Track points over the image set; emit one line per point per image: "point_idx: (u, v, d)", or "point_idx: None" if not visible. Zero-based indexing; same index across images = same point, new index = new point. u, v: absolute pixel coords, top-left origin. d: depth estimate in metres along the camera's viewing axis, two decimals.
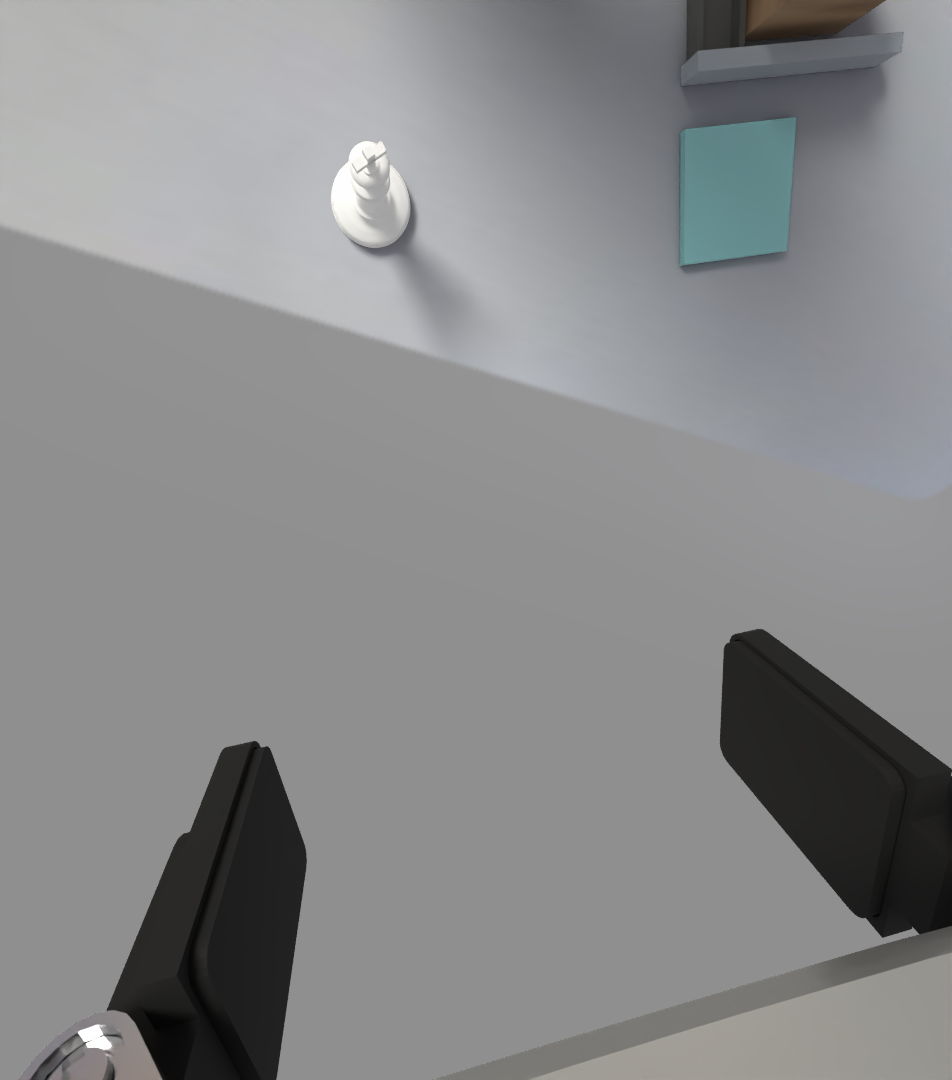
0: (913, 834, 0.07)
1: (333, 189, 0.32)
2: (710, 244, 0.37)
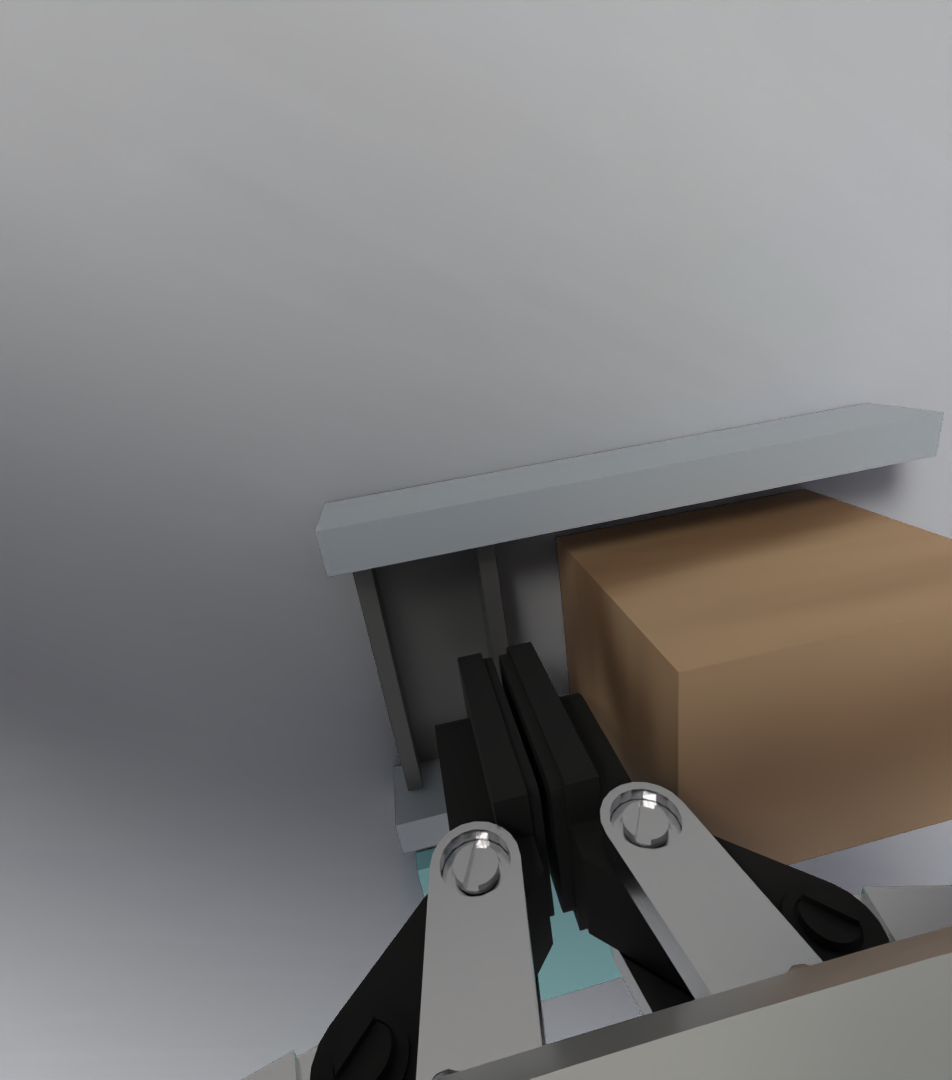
0: (573, 835, 0.08)
1: None
2: None
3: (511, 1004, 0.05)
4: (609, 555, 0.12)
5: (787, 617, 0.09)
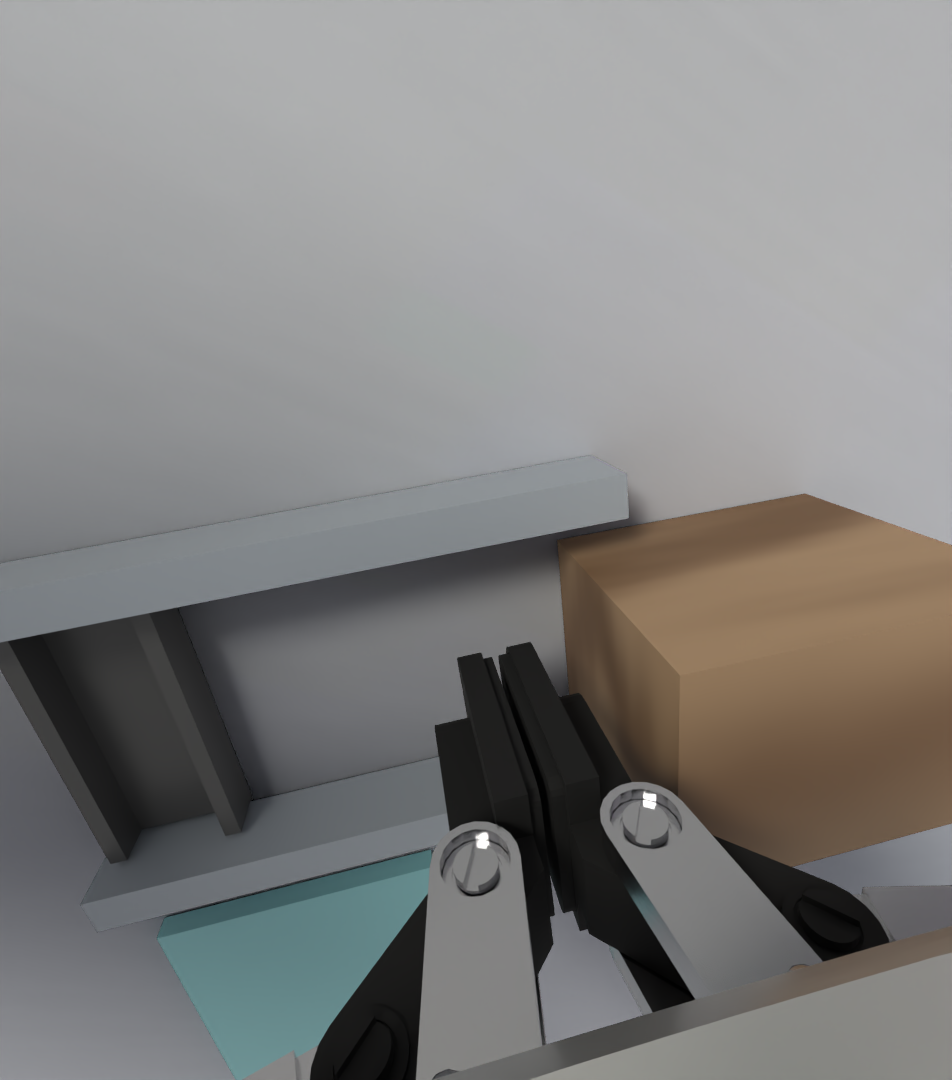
0: (572, 835, 0.08)
1: None
2: None
3: (511, 1004, 0.05)
4: (610, 558, 0.12)
5: (787, 621, 0.09)
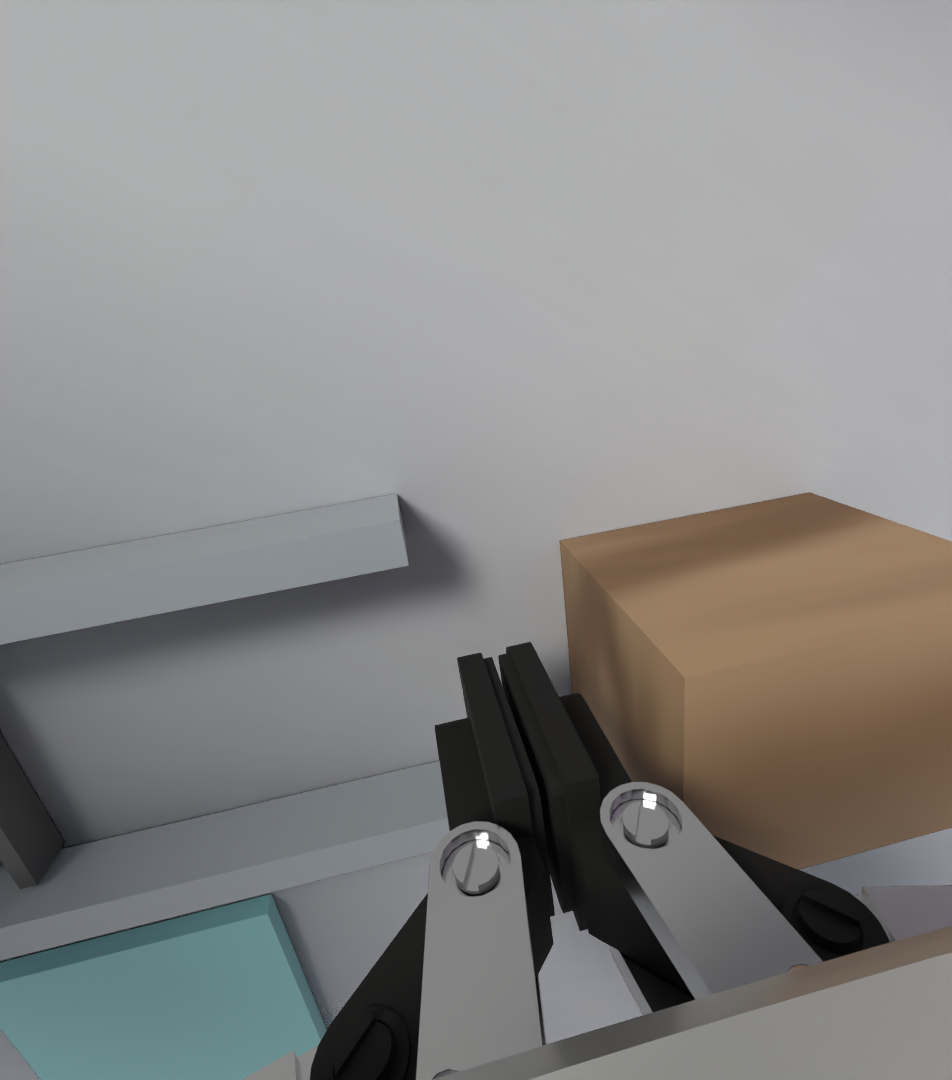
0: (573, 835, 0.08)
1: None
2: None
3: (511, 1004, 0.05)
4: (613, 558, 0.12)
5: (793, 622, 0.09)
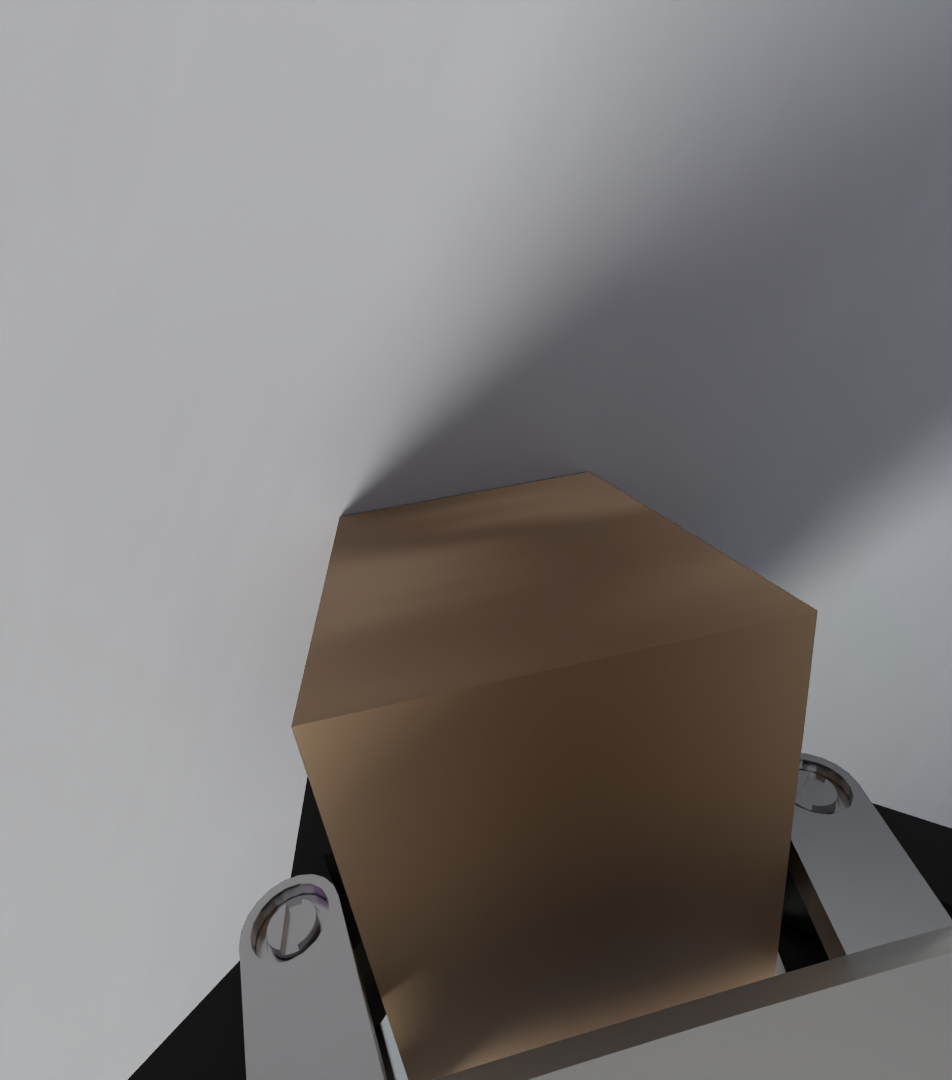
0: None
1: None
2: None
3: (347, 1047, 0.05)
4: None
5: None
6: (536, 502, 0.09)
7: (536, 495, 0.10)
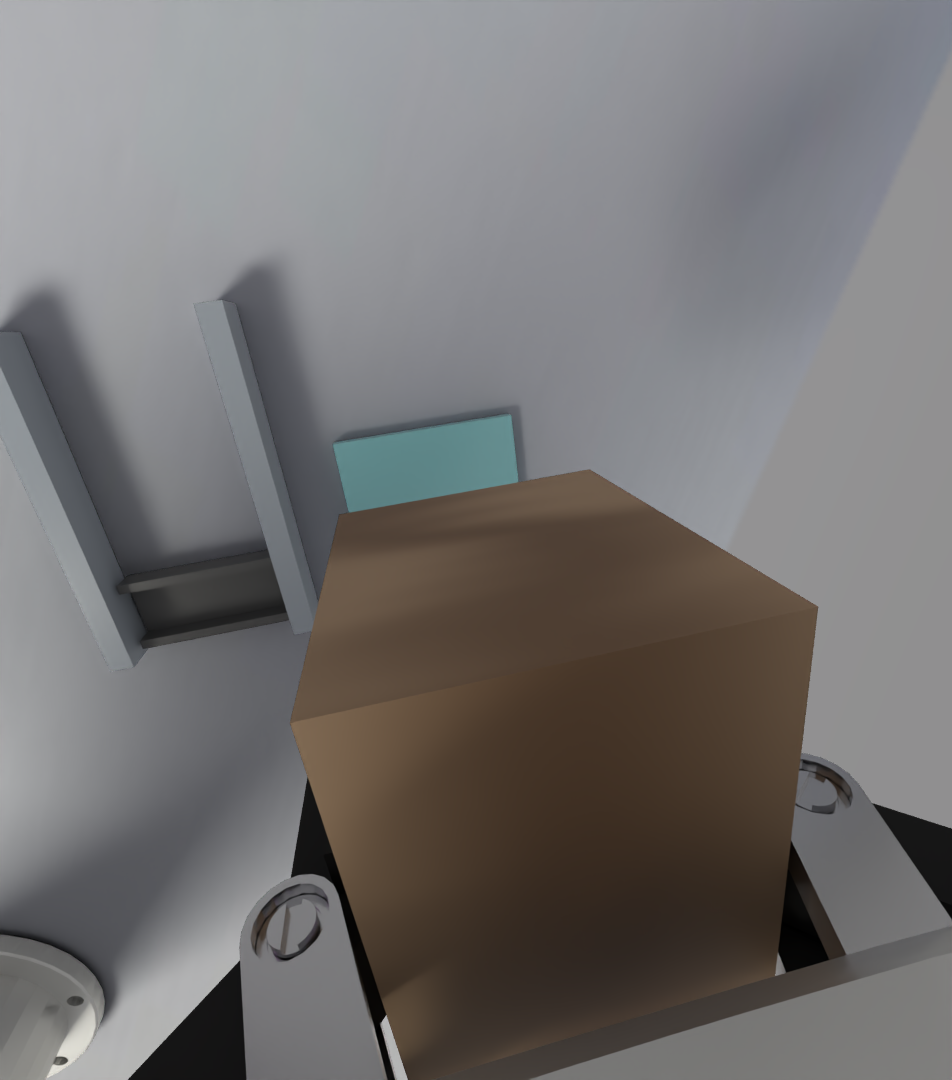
0: None
1: None
2: None
3: (347, 1047, 0.05)
4: None
5: None
6: (535, 501, 0.09)
7: (536, 493, 0.10)
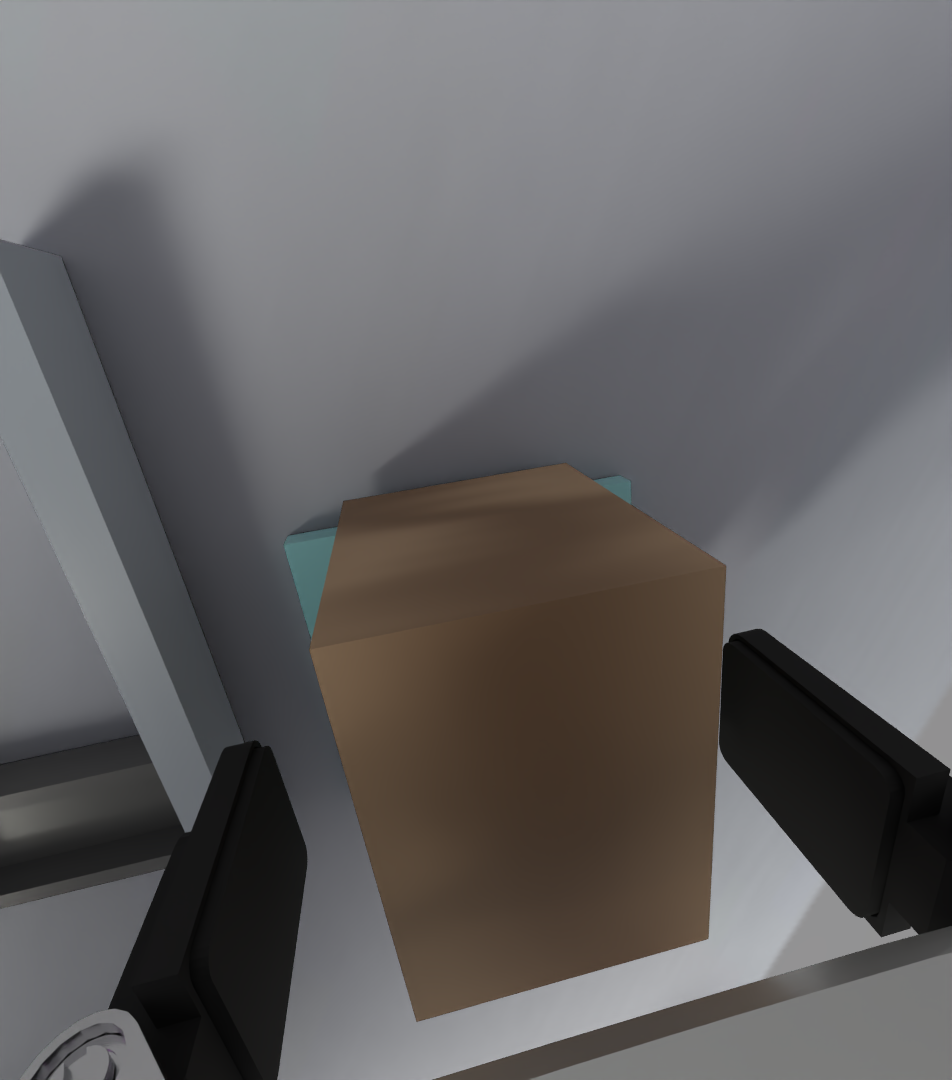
0: (912, 833, 0.07)
1: None
2: None
3: None
4: None
5: None
6: (515, 488, 0.11)
7: (517, 482, 0.11)
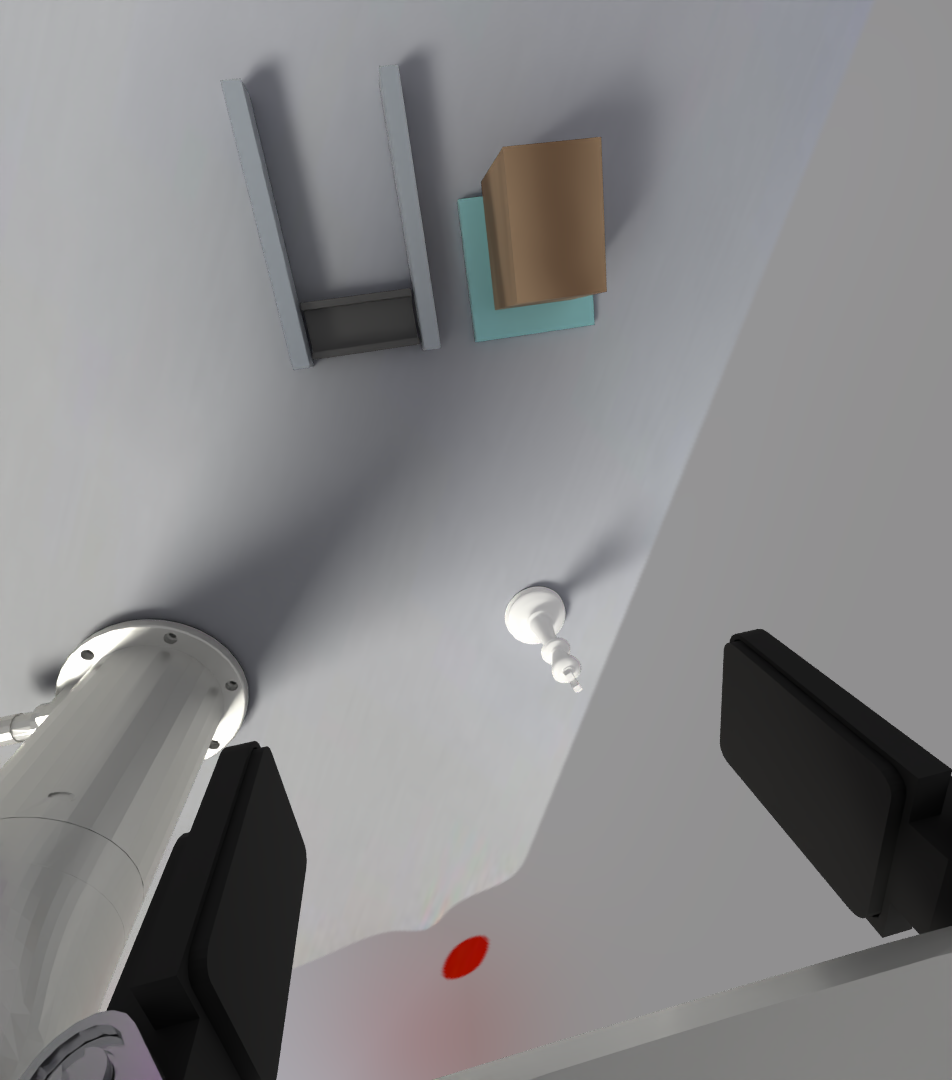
0: (913, 834, 0.07)
1: (529, 643, 0.43)
2: None
3: None
4: (498, 295, 0.32)
5: (509, 256, 0.28)
6: None
7: None
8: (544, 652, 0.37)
